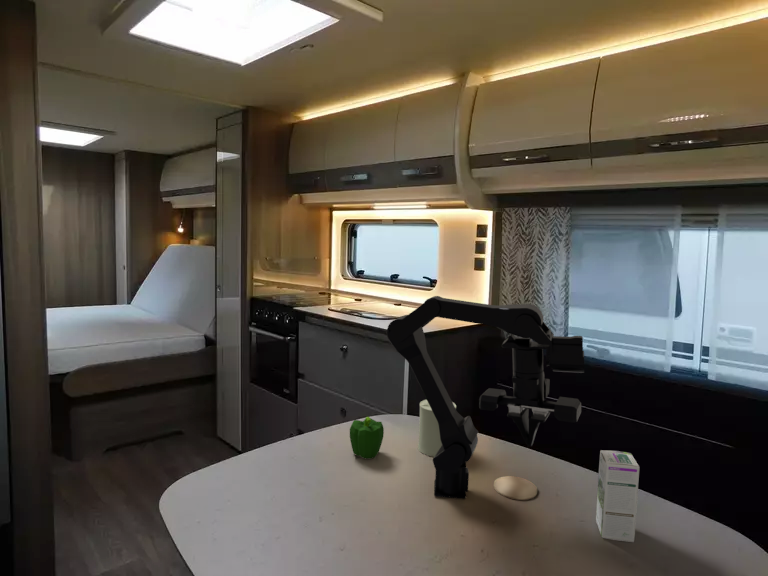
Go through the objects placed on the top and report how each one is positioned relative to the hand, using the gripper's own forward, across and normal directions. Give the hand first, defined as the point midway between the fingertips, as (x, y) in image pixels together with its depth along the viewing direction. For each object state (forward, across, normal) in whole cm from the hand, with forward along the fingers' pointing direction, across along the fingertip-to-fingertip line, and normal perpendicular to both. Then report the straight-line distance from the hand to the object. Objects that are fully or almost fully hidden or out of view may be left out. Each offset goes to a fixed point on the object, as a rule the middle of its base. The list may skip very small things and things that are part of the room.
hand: (529, 445), depth 100 cm
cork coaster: (+13, +4, -4) cm, 14 cm away
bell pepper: (+10, +40, -1) cm, 41 cm away
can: (+12, +27, -13) cm, 32 cm away
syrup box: (+14, -15, +1) cm, 21 cm away
